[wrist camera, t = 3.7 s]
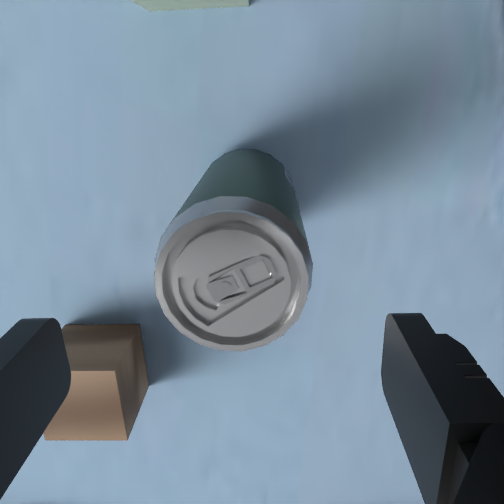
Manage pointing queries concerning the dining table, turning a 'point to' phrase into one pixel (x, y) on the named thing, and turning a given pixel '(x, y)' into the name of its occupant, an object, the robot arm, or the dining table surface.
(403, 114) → the dining table surface
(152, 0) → the sage block
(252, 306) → the beer can
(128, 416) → the walnut block
